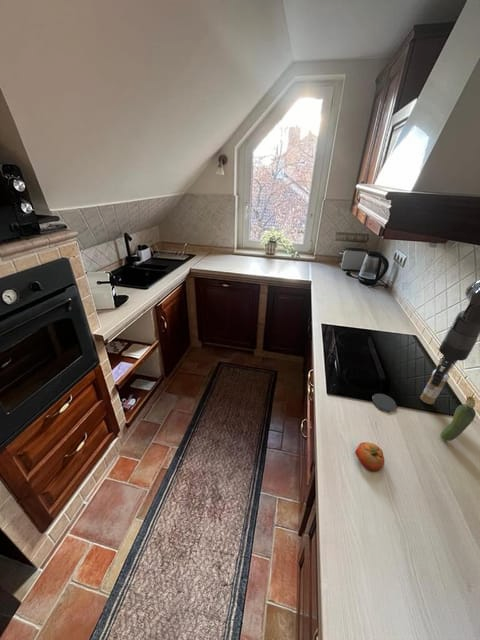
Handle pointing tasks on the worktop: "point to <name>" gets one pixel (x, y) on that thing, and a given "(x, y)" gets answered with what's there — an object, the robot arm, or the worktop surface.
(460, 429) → the vegetable
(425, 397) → the sprinkles bottle
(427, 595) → the worktop surface
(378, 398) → the slate coaster
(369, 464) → the tomato
